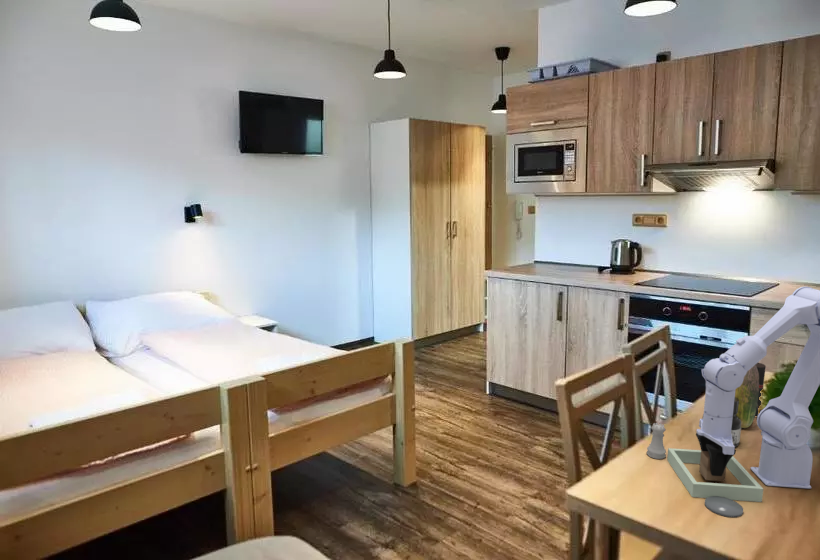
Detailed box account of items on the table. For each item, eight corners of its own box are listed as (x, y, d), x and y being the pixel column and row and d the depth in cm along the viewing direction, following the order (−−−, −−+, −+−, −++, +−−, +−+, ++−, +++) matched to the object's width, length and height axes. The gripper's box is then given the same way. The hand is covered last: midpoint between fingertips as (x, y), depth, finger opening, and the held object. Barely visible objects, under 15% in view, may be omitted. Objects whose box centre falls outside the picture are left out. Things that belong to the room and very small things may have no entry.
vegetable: (723, 423, 162) (731, 354, 159) (739, 420, 164) (747, 352, 161) (743, 432, 156) (751, 361, 153) (759, 428, 159) (767, 358, 155)
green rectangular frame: (728, 463, 138) (729, 452, 138) (761, 502, 122) (763, 488, 121) (667, 459, 140) (668, 448, 139) (692, 497, 123) (693, 484, 123)
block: (717, 472, 132) (719, 452, 132) (724, 481, 128) (726, 460, 128) (699, 471, 133) (701, 450, 132) (705, 479, 129) (707, 459, 128)
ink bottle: (705, 447, 147) (709, 402, 145) (694, 432, 156) (698, 390, 154) (746, 450, 146) (751, 405, 144) (732, 435, 154) (737, 392, 152)
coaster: (734, 500, 122) (734, 497, 122) (749, 518, 115) (749, 516, 115) (699, 497, 123) (699, 494, 123) (712, 515, 116) (712, 513, 116)
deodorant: (764, 417, 166) (770, 367, 164) (743, 417, 166) (749, 367, 164) (752, 409, 172) (758, 361, 170) (732, 409, 172) (737, 361, 170)
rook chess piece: (667, 460, 140) (670, 429, 138) (648, 458, 140) (650, 427, 139) (663, 452, 144) (666, 422, 143) (644, 450, 145) (647, 420, 143)
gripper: (687, 400, 136) (682, 454, 138) (711, 425, 122) (706, 485, 124) (719, 401, 135) (714, 456, 137) (747, 427, 121) (740, 487, 123)
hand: (712, 470), depth 130 cm, fingers closed on block, 4 cm apart
